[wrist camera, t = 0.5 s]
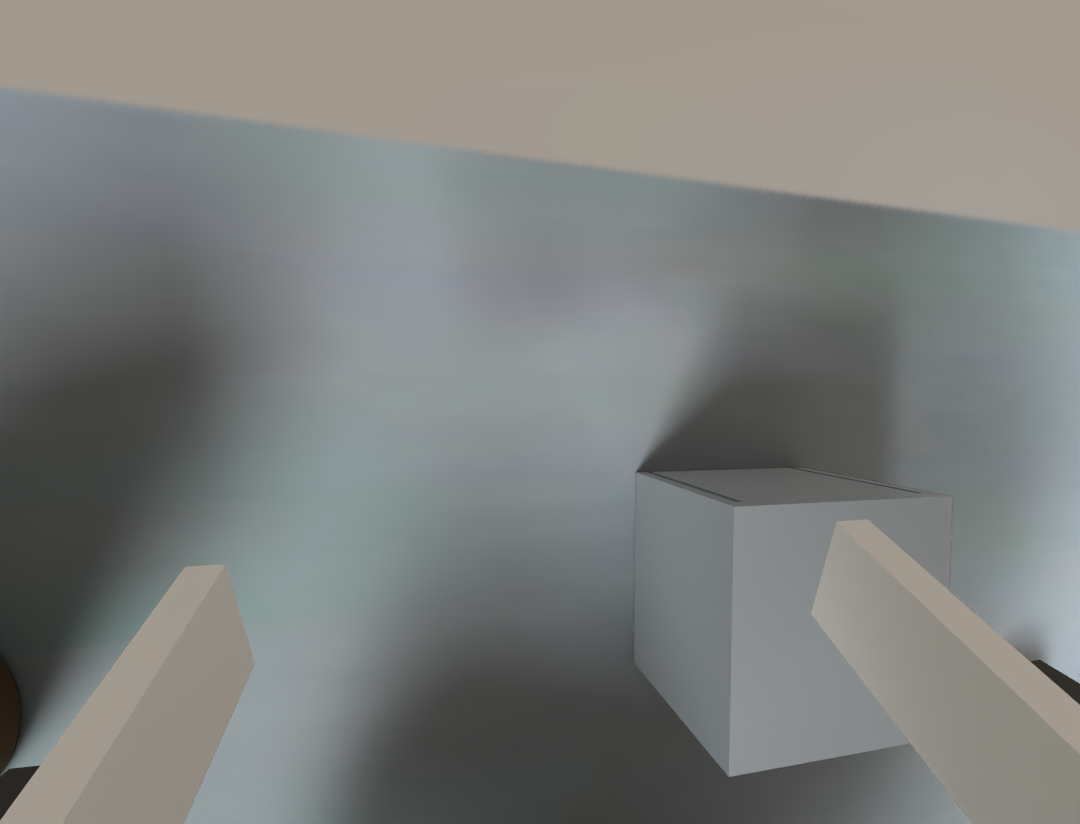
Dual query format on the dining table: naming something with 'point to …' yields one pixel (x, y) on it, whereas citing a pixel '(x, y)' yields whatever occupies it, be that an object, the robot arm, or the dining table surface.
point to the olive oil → (8, 715)
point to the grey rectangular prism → (764, 607)
